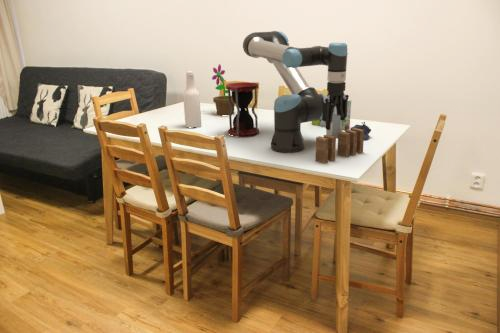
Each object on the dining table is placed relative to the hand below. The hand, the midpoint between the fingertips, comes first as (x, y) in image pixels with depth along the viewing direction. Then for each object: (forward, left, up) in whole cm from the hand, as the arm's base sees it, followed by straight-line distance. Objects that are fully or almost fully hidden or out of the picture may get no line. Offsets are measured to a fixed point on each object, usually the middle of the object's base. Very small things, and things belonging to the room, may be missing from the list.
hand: (333, 135), depth 191 cm
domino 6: (+10, +1, -7) cm, 12 cm away
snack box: (-8, +44, -7) cm, 45 cm away
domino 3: (0, 0, -1) cm, 1 cm away
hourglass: (-49, +21, -7) cm, 53 cm away
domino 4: (+5, -6, -7) cm, 10 cm away
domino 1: (-3, -16, -7) cm, 18 cm away
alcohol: (-81, +29, -7) cm, 86 cm away
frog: (+9, +24, -7) cm, 27 cm away
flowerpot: (-75, +63, -7) cm, 98 cm away
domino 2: (0, -12, -7) cm, 14 cm away
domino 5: (+7, -2, -7) cm, 11 cm away
